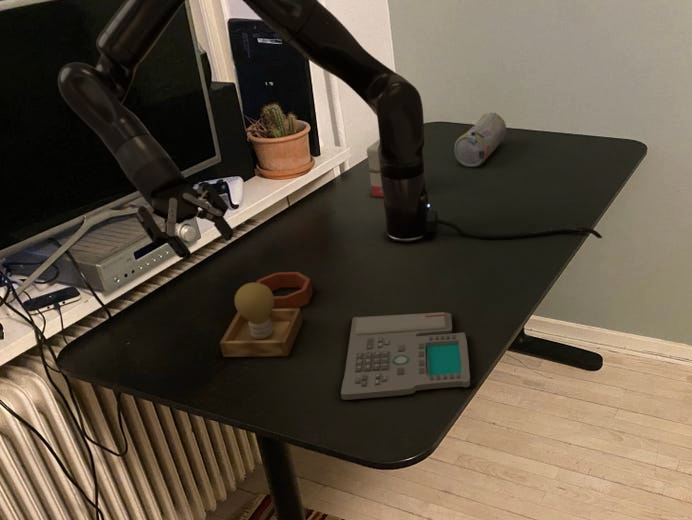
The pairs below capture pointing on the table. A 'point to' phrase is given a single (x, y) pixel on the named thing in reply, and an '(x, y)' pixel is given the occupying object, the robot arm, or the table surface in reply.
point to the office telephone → (404, 355)
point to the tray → (276, 344)
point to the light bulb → (256, 308)
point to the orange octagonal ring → (289, 281)
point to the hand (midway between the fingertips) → (209, 247)
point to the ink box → (375, 169)
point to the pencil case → (480, 140)
